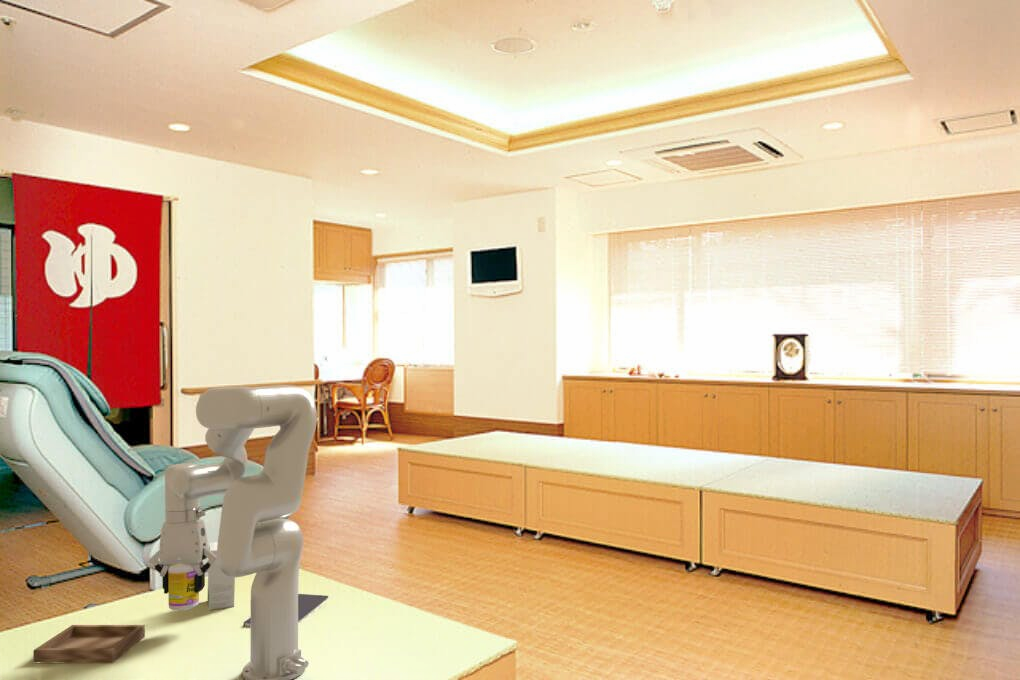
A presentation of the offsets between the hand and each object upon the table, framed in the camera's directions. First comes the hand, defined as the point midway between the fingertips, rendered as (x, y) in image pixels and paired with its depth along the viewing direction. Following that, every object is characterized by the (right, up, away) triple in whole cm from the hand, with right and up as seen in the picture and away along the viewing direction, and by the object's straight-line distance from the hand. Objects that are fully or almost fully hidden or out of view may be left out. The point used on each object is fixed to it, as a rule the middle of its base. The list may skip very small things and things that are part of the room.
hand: (183, 590), depth 174 cm
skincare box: (+1, -10, +19) cm, 22 cm away
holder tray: (-16, -10, -10) cm, 21 cm away
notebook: (+21, -11, +13) cm, 27 cm away
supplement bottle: (0, -4, 0) cm, 4 cm away
